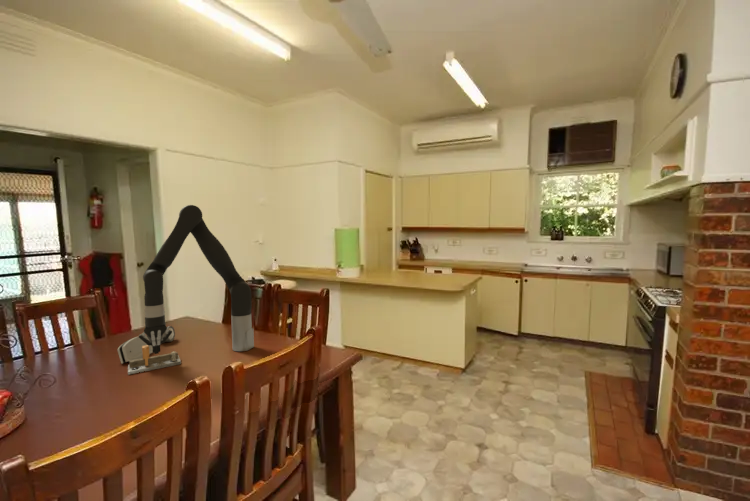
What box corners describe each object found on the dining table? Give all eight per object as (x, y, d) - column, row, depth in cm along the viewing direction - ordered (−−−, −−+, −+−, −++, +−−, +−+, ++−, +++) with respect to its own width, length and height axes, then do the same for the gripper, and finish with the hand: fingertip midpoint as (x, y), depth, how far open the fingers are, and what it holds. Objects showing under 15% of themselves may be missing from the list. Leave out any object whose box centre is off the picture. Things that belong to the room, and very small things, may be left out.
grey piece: (178, 357, 159) (178, 346, 159) (181, 364, 152) (180, 352, 152) (128, 367, 149) (127, 355, 148) (128, 374, 141) (127, 362, 141)
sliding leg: (149, 360, 153) (148, 344, 152) (150, 365, 147) (149, 349, 147) (142, 361, 151) (142, 346, 151) (143, 366, 146) (142, 350, 145)
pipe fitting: (177, 337, 188) (173, 319, 186) (169, 343, 180) (165, 325, 178) (154, 340, 187) (150, 322, 185) (146, 347, 179) (141, 328, 177)
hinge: (131, 363, 153) (123, 342, 152) (122, 367, 153) (113, 346, 153) (156, 350, 170) (149, 331, 169) (148, 353, 170) (140, 334, 169)
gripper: (136, 318, 145) (138, 359, 146) (172, 314, 152) (174, 352, 153) (136, 315, 151) (138, 354, 152) (171, 310, 158) (173, 347, 159)
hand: (156, 353), depth 153 cm, fingers closed
